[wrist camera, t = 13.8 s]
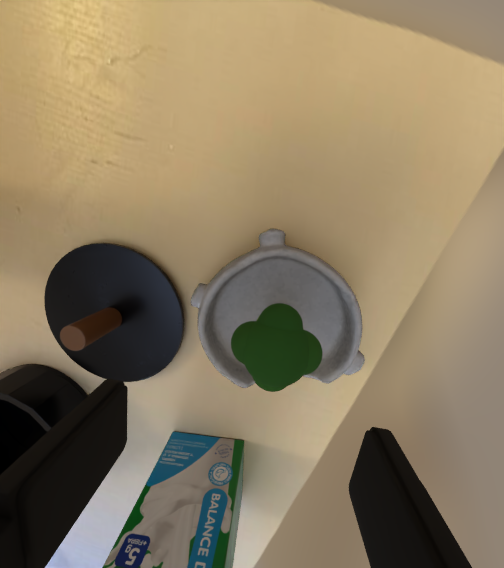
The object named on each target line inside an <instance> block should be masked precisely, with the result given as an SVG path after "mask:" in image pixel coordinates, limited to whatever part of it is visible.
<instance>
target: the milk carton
mask: <svg viewBox="0 0 504 568" xmlns="http://www.w3.org/2000/svg"><path fill="white" fill-rule="evenodd" d="M243 459H244V441H242V440H234V439H226V438H219V437H211V436H203V435H196V434H188V433H181V432H173V433H172V435H171V436H170V438H169V440H168V442H167V444H166V446H165V448H164V450H163V452H162V454H161V456H160V458H159V460H158V462H157V463H156V465H155V467H154V469H153V471H152V473H151V475H150V477H149V479H148V481H147V483H146V485H145V487H144V488H143V490H142V492H141V494H140V496H139V498H138V500H137V502H136V504H135V506H134V508H133V510H132V512H131V514H130V515H129V517H128V519H127V521H126V523H125V525H124V527H123V529H122V531H121V533H120V535H119V537H118V539H117V541H116V542H115V544H114V546H113V548H112V550H111V552H110V554H109V556H108V558H107V560H106V562H105V564H104V566H103V568H232V567H233V560H234V552H235V545H236V537H237V530H238V522H239V515H240V507H241V500H242V482H243Z"/></svg>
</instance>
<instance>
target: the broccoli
mask: <svg viewBox="0 0 504 568" xmlns="http://www.w3.org/2000/svg"><path fill="white" fill-rule="evenodd" d="M231 349H232V352H233V354H234V356H235V358H236V359H237V360H238V361H239V362H241V363H242V364H244V365H245V367H246V369H247V370H248V372H249V373H250V375H251V376H252V377H253V380H254V381H255V383H256V384H257V385H258V386H259V387H261V388H262V389H264V390H266V391H271V392H275V391H279V390H282V389H284V388H285V387H286V386H288V385H290V384H292V383H294V382H296V381H298V380H299V379H300V378H301V377H302V376H303V375H307V374H310V373H312V372H314V371H315V370H316V369H317V368H318V366H319V365H320V363H321V360H322V353H323V352H322V347H321V344H320V342H319V340H318V339H317V338H316V336H314V335H313V334H312V333H311V332H309V331H306V330H304V329H303V322H302V318H301V316H300V314H299V313H298V312H297V310H295V309H294V308H293V307H292V306H290V305H287V304H284V303H276V304H272V305H270V306H268V307H267V308H265V309H264V310H263V311H262V313H261V314H260V315H259V317H258V319H257V321H248V322H245V323H243V324H241V325H240V326H238V327H237V328H236V330H235V331H234V333H233V335H232V338H231Z"/></svg>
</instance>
